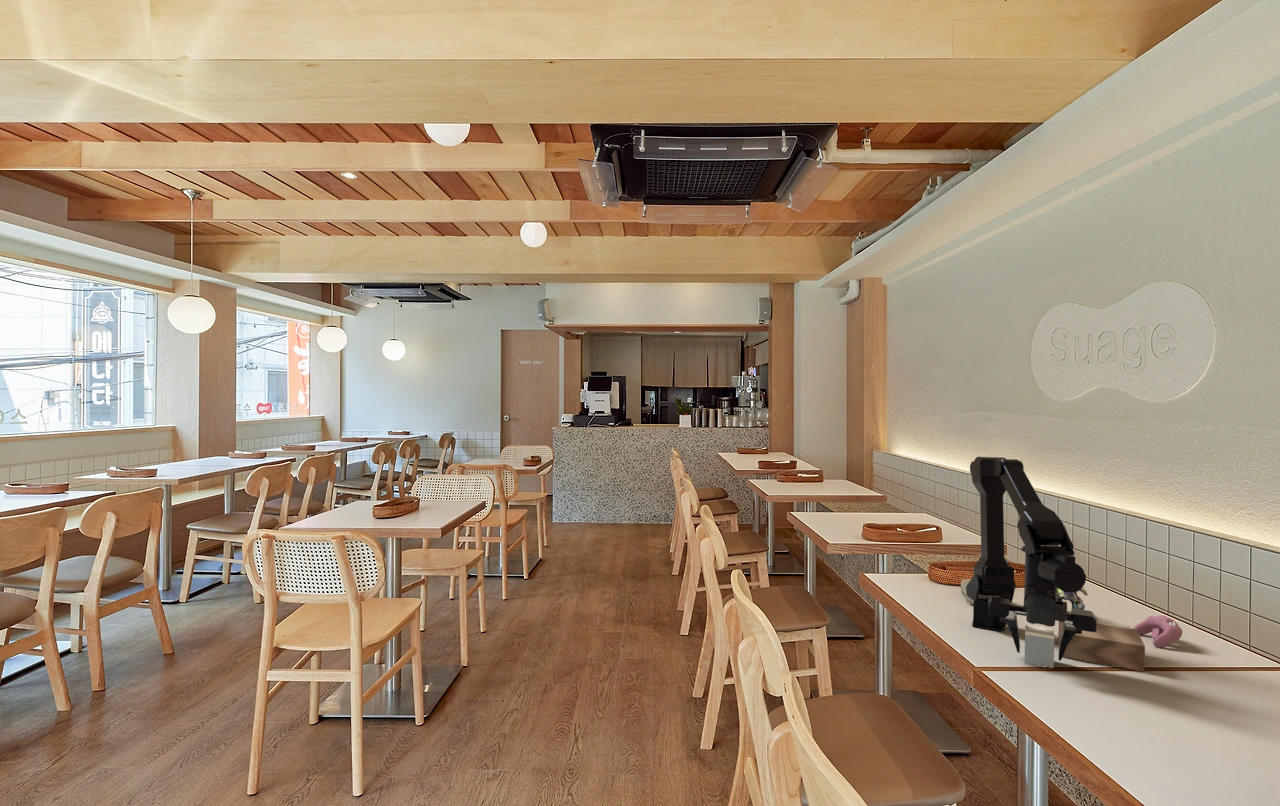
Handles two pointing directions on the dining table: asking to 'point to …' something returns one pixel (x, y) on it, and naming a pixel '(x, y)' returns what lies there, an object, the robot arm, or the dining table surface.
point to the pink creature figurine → (1160, 630)
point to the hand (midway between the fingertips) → (1038, 656)
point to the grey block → (1039, 646)
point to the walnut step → (1108, 646)
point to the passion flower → (1072, 598)
